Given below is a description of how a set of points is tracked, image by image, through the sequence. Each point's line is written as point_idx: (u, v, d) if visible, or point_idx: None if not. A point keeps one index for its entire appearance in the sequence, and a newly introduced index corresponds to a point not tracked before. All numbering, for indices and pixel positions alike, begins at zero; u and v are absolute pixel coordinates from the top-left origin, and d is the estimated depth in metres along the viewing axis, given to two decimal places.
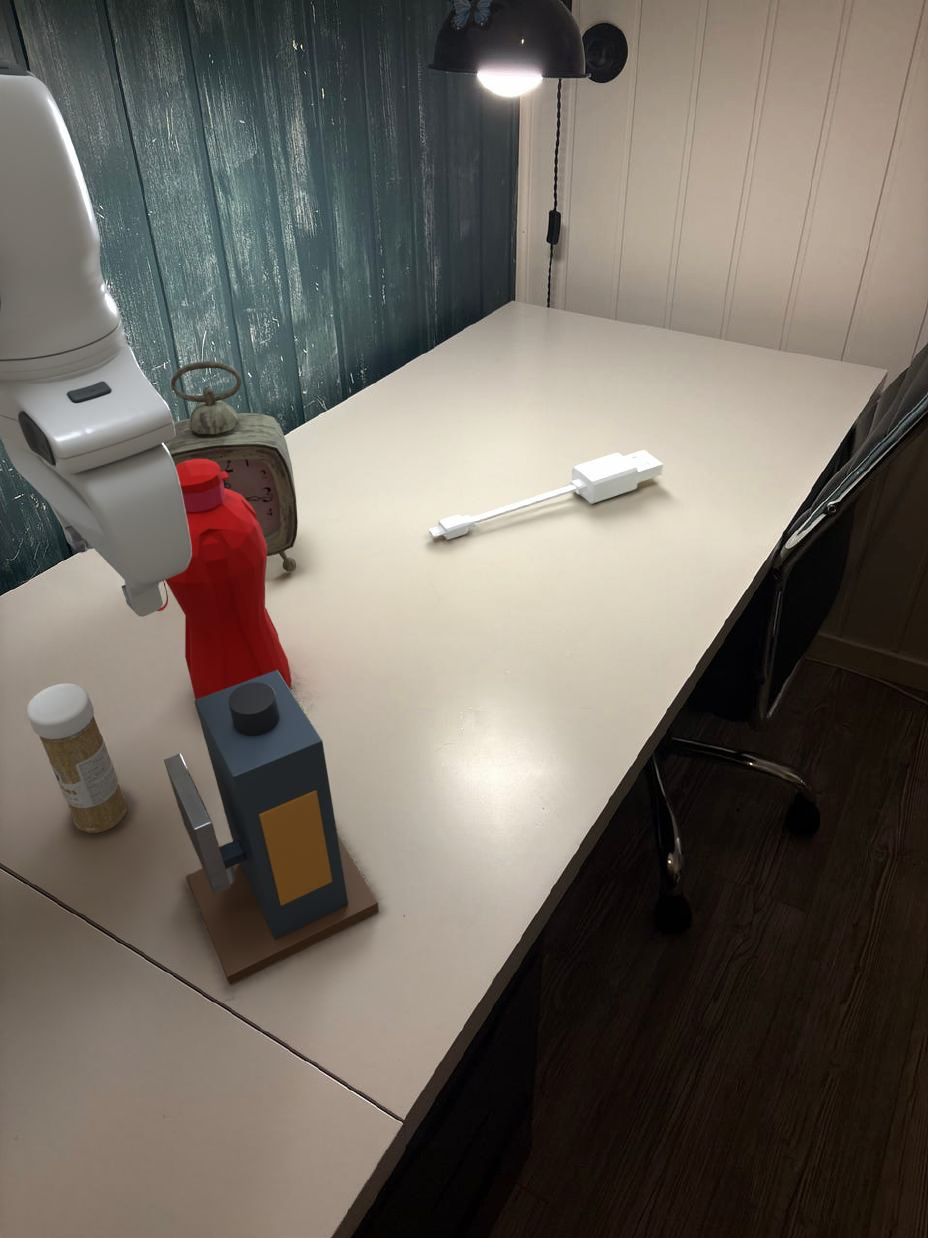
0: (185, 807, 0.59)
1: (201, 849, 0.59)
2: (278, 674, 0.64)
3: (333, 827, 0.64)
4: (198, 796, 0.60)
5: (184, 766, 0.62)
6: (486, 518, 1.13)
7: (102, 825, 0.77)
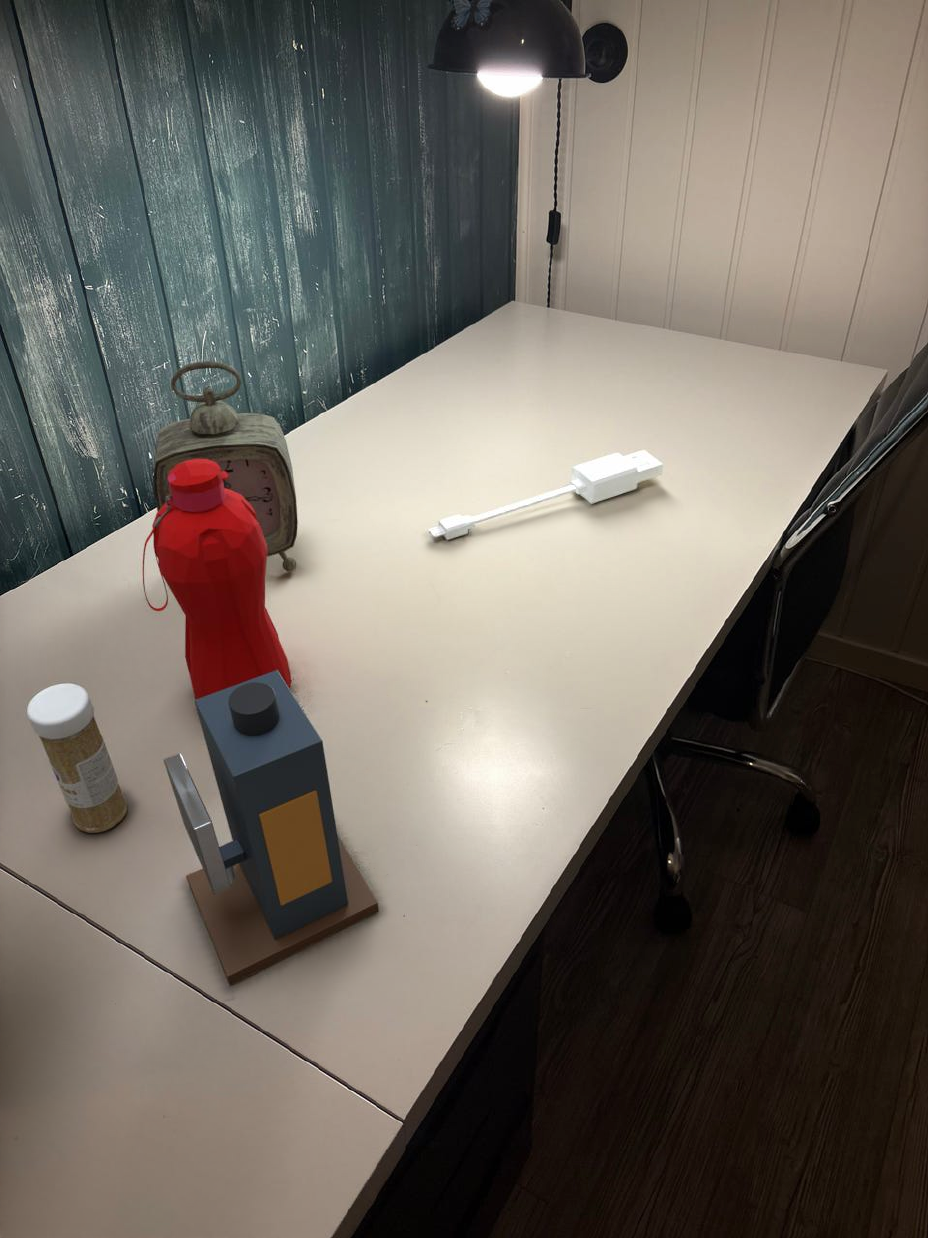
0: (185, 807, 0.59)
1: (201, 849, 0.59)
2: (278, 674, 0.64)
3: (333, 827, 0.64)
4: (198, 796, 0.60)
5: (184, 766, 0.62)
6: (486, 518, 1.13)
7: (102, 825, 0.77)
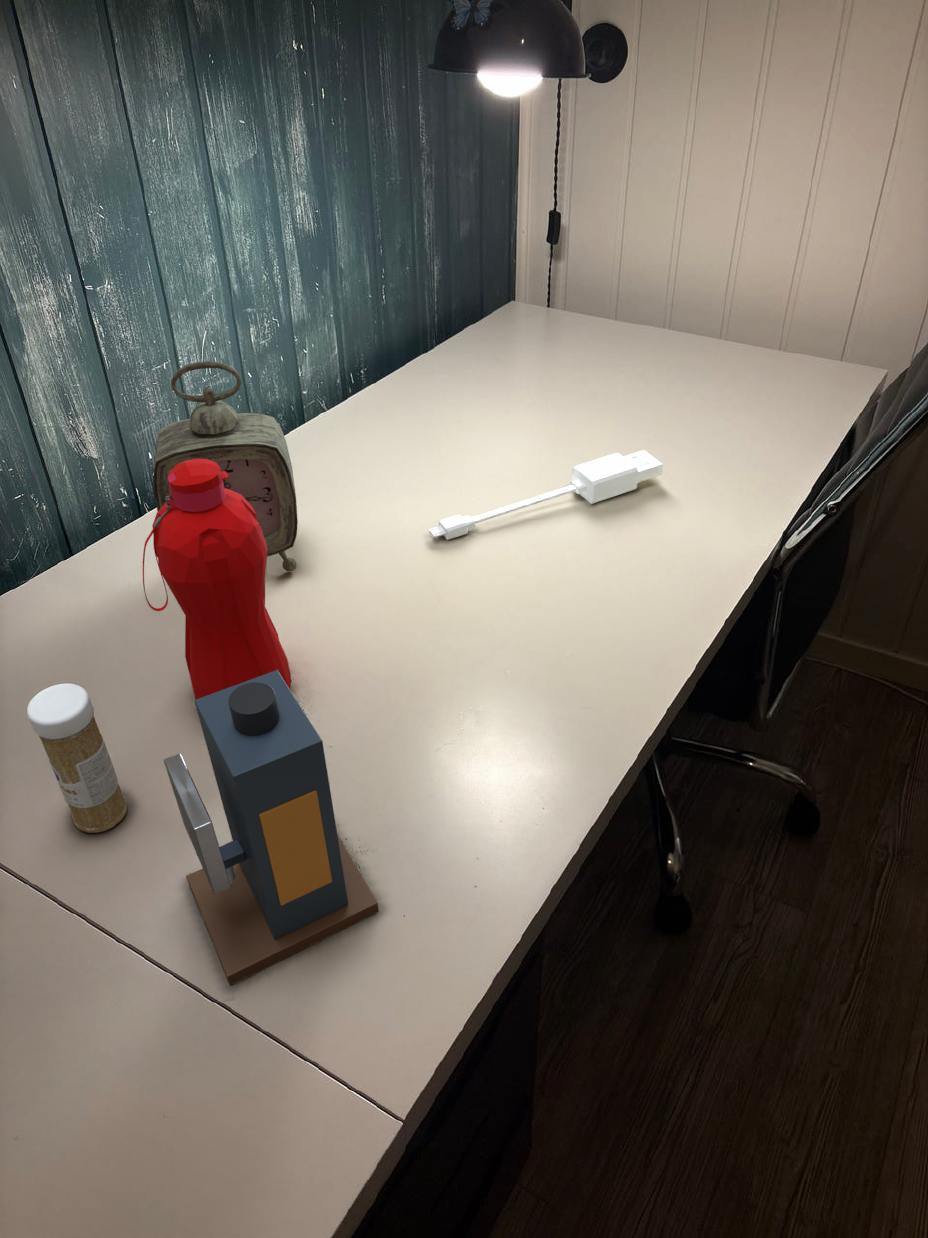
0: (185, 807, 0.59)
1: (201, 849, 0.59)
2: (278, 674, 0.64)
3: (333, 827, 0.64)
4: (198, 796, 0.60)
5: (184, 766, 0.62)
6: (486, 518, 1.13)
7: (102, 825, 0.77)
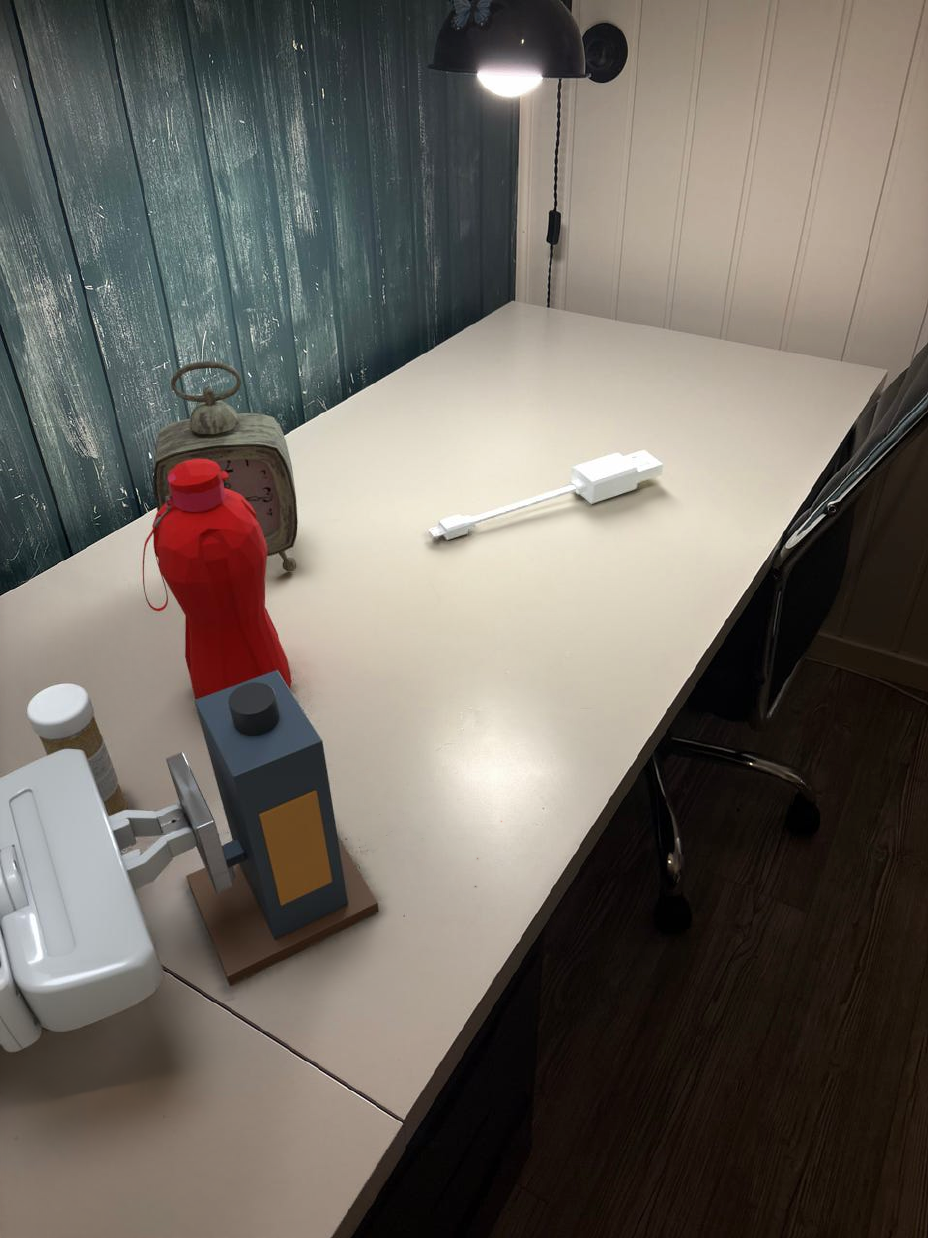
0: (188, 806, 0.60)
1: (204, 848, 0.59)
2: (278, 674, 0.64)
3: (333, 827, 0.64)
4: (201, 795, 0.60)
5: (186, 765, 0.62)
6: (486, 518, 1.13)
7: None
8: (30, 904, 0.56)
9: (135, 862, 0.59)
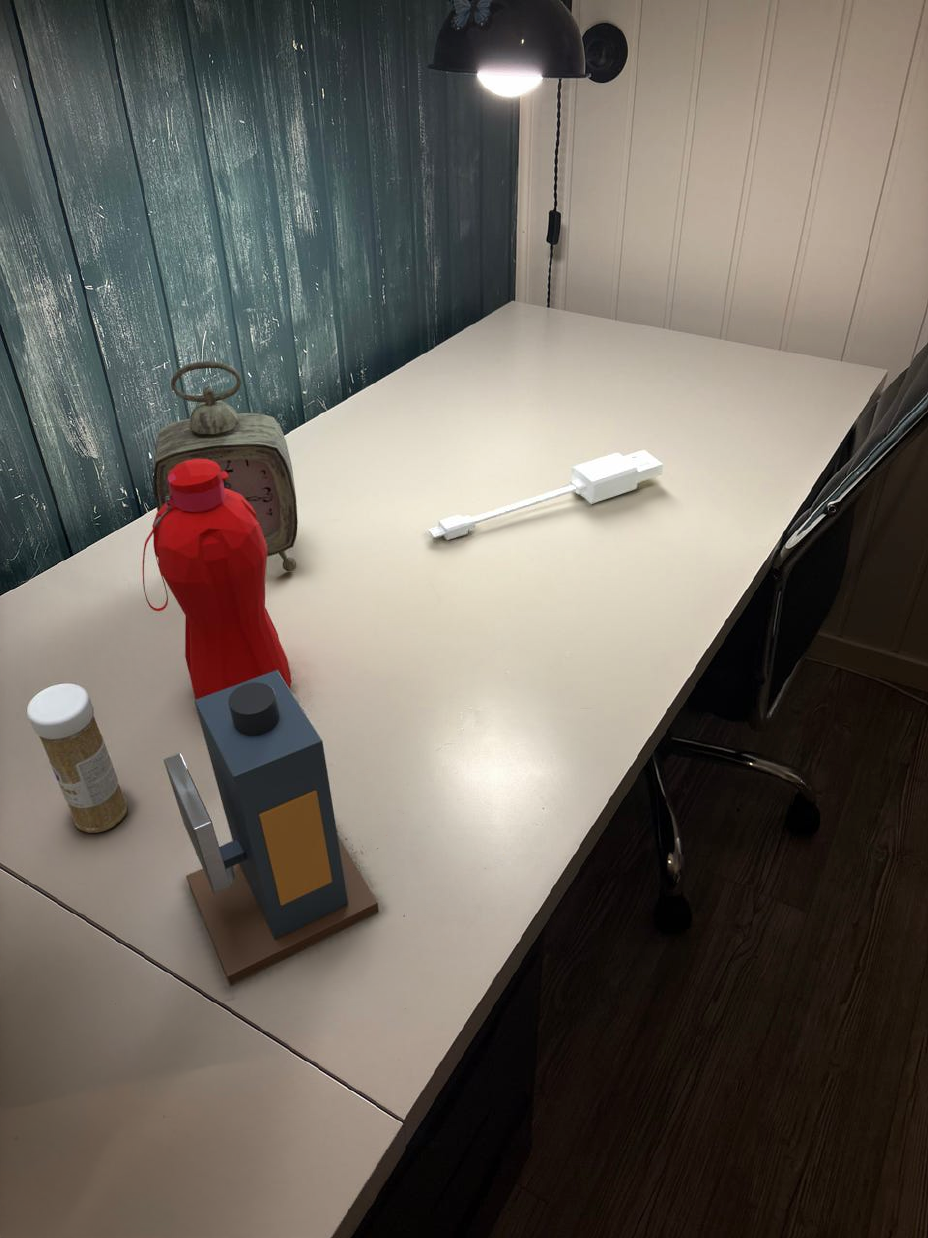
0: (185, 807, 0.59)
1: (201, 849, 0.59)
2: (278, 674, 0.64)
3: (333, 827, 0.64)
4: (198, 796, 0.60)
5: (184, 766, 0.62)
6: (486, 518, 1.13)
7: (102, 825, 0.77)
8: None
9: None
